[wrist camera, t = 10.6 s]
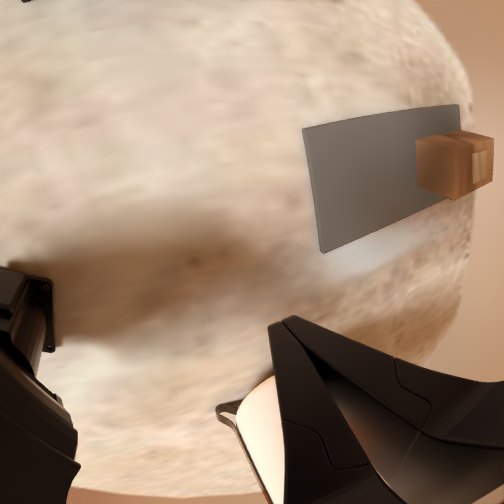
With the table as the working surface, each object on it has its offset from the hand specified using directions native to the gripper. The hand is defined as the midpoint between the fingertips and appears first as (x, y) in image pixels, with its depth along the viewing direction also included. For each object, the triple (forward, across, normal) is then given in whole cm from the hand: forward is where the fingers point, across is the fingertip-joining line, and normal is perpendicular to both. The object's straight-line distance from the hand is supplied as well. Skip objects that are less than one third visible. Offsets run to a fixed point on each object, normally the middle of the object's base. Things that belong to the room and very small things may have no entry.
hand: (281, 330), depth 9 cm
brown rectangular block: (+10, -20, +2) cm, 22 cm away
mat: (+13, -18, +2) cm, 22 cm away
